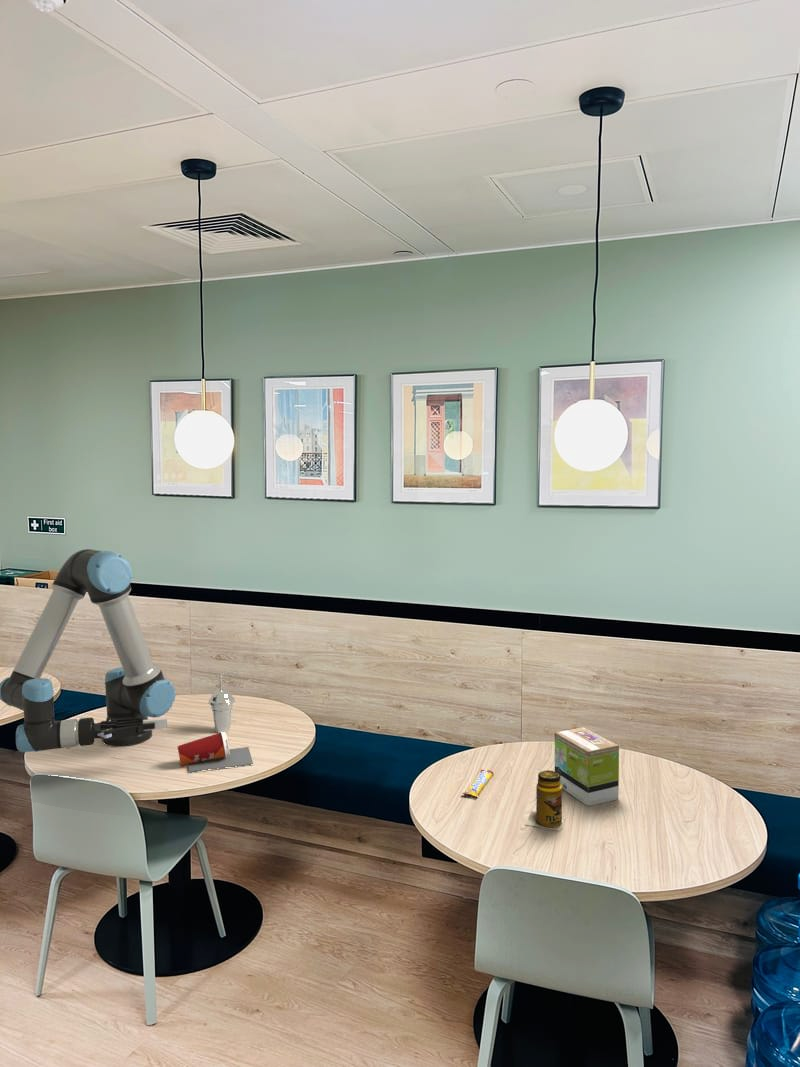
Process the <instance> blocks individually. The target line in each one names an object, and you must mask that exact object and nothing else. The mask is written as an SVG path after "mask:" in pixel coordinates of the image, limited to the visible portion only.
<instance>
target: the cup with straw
mask: <svg viewBox="0 0 800 1067" xmlns="http://www.w3.org/2000/svg"><path fill="white" fill-rule="evenodd" d="M236 673H238V672H237V670H232V671H227V672H224V673H220V674H219V677H218V678H219V680H218V681H219V689H217V690H215V691H214V692H213V693H212V694H211V696H210V698H209V699H208V705H209V706H210V707H211V712H212V715H213V717H212V718H213V724H214V729H215V732H216V733H217V732H218V733H220V732H226V733H228V732H230V731H231V730H230V727H231V719H232V710H233V704H234V703H235V702H236V701H235V697H233V695H232V693H231V692H230V691H229V690H227V689H226V688H222V687H223V684H222V683H223V680H222V678H223V676H226V675H232V674H236ZM229 730H230V731H229ZM218 733H217V734H218Z"/></svg>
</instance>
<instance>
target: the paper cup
mask: <svg viewBox="0 0 800 1067" xmlns="http://www.w3.org/2000/svg"><path fill="white" fill-rule="evenodd" d="M229 745H230V744H229V742H228V736H227V732H220V733H215V734H211V735H208V736H204V737H202V738H198V739H195V740H193V741H190V742H186V743H182V744H180V745H177V751H178V756H179V762H180V765H181V766H184V765H188V764H191V763H196V762H201V761H206V760H211V759H216V758H221V757H225V758H226V756H228V755H230V751H229V749H230V747H229Z"/></svg>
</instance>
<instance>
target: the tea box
mask: <svg viewBox="0 0 800 1067" xmlns="http://www.w3.org/2000/svg"><path fill="white" fill-rule="evenodd" d="M619 769H620V744H617V743H615V742H613V741H611V740H609V739H608V738H605V737H604V736H602V735H600V734H598V733H595V732H594V731H593V730H590V729H588V728H587V727H584V726H582V727H577V728H573V729H568V730H567V729H566V730H561V731H557V732H556V731H555V732H554V771H555V772H557V773H558V774H559V775H560V781H561V783H560V784H561V786H562V790H564V791H565V792H566V793H569V795H571V796H573V797H574V798H575V799H577V800H578V801H580V802H582V804H585V805H586V806H587V807H590V806H591V807H592V806H595V805H599V804H603V803H607V802H612V801H615V800H619V790H620V788H619V781H620V780H619V779H620V778H619V777H620V776H619V775H620V770H619Z"/></svg>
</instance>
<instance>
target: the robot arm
mask: <svg viewBox="0 0 800 1067" xmlns="http://www.w3.org/2000/svg"><path fill="white" fill-rule="evenodd" d="M132 578H133V570H132V566H131V563H130V562H129V560H128V559H127V558H126V557H124V556H123V555H121V554H119V553H117V552H114V551H111V550H110V551H109V550H96V549H91V548H90V549H89V548H88V549H87V548H86V549H81V550H78V551H76V552H74V553H72V554H71V555H70V556H69V557H68V559H66V561H65V562H64V563H63V565H62V566H61V567H60V568H59V571H58V573H57V574H56V576H55V578H54V580H53V582H52V584H51V589H52V592H51V594H50V595H49V598H48V600H47V603H46V605H45V606H44V609H43V610H42V612H41V615H40V616H39V618H38V620H37V622H36V624H35V626H34V628H33V630H32V633H30V634H31V635H30V636H29V638H28V640H27V642H26V644H25V646H24V648H23V650H22V652H21V654H20V656H19V658H18V659H17V660H18V661H17V663H16V664H15V666H14V668H13V670H12V672H11V674H10V676H9V677H7V678H4V679H3V680H2V681H0V701H1V702H3V703H5V704H6V705H7V706H9V707H13V708H16V709H18V710H21V711H23V719H24V721H23V723H22V724H20V725H18V726H17V728H16V731H15V745H16V749H17V750H18V752H19V753H28V752H29V753H30V752H33V753H36V752H43V751H49V750H56V749H65V748H66V749H67V750H69V749H71V748H74V747H75V748H76V747H78V745H79V746H81V747H86V746H93V745H94V744H95V739H101V740H102V741H103V742H104V743H105V744H104V743H103V742H102V743H103V744H104V745H106V744H107V745H106V746H109V745H111V746H110V747H127V746H133V745H137V744H141V743H144V742H146V741H148V740H150V739H151V738H152V736H153V731H155V730H163V729H168V717H162V716H163V715H166V714H167V713H168V712H169V711H170V709H171V708H172V707H173V703H174V702H175V700H176V693H177V692H176V689H175V686H174V684H173V683H172V682H171V681H169V680H168V679H166V678H165V676H164V674H163V671H162V668H161V667H160V665H158V664H155V663H154V661H153V659H152V657H151V653H150V651H149V649H148V645H147V643H146V641H145V640H146V639H145V637H144V634H143V631H142V630H141V627H140V624H139V621H138V618H137V616H136V613H135V611H134V608H133V605H132V602H131V598H130V596H129V595H130V592H131V590H132V586H131V580H132ZM86 594H88V597H89V600H90V602H91V604H94V605H96V606H98V607H99V610H100V613H101V615H102V617H103V620H104V623H105V626H106V628H107V630H108V634H109V635H110V638H111V641H112V643H113V646H114V649H115V651H116V654H117V657H118V660H119V661H120V664H121V666H120V667H117V668H116V667H115V668H112V669H110V670H108V671H106V672H105V676H104V678H105V679H104V686H105V703H106V706H105V707H106V720H102V721H100V722H96V723H95V719H94V718H93V717H81V718H80V719H77V718H70V719H63V720H62V719H61V720H55V705H54V704H55V703H54V702H55V701H54V695H55V692H54V688H53V687H54V686H53V681H52V680H51V679H49V678H46V677H45V678H44V677H41V676H42V675H43V673H44V671H45V670H46V667H47V665H48V663H49V661H50V659H51V657H52V655H53V653H54V650H55V649H56V647H57V644H58V642H59V641H60V638H61V637H62V635H63V634H64V633H63V632H64V630H65V629H66V627H67V624H68V622H69V621H70V618H71V617H72V614H73V613H74V610H75V608H76V606H77V605H78V602H79V601H80V600H83V599H84V598H85V596H86ZM159 717H160V718H159ZM149 718H151V719H149Z"/></svg>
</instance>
